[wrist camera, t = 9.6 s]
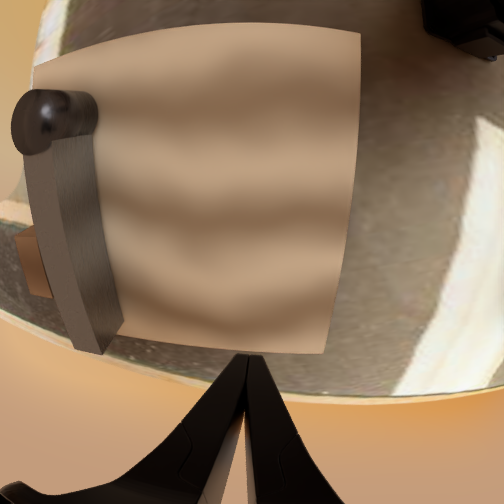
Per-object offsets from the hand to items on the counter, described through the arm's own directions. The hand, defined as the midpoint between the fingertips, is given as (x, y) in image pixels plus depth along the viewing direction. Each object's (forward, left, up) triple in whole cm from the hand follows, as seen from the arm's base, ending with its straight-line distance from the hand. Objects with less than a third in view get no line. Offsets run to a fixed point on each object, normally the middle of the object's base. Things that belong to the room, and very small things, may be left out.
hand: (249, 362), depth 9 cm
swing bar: (-2, -12, -9) cm, 15 cm away
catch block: (+1, -15, -10) cm, 18 cm away
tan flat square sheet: (-2, -6, -11) cm, 12 cm away
